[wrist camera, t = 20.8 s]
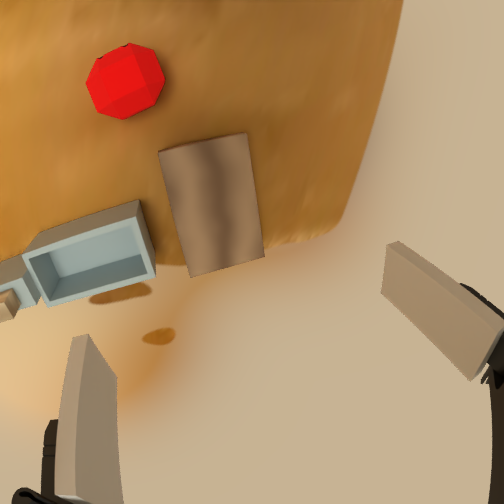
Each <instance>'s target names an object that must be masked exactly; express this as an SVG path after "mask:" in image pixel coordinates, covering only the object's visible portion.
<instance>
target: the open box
mask: <svg viewBox="0 0 504 504" xmlns="http://www.w3.org/2000/svg"><path fill="white" fill-rule="evenodd" d="M21 256H22V258H23V260H24V262H25V264H26V267H27V269H28V271H29V273H30V275H31V277H32V279H33V281H34V283H35V285H36V287H37V289H38V291H39V293H40V294H41V296H42V298H43V300H44V302H45V303H46V305H47V307H52V306H56V305H59V304H63V303H66V302H70V301H73V300H76V299H80V298H84V297H88V296H91V295H95V294H98V293H102V292H105V291H109V290H112V289H116V288H120V287H123V286H127V285H130V284H134V283H137V282H141V281H144V280H148V279H152V278H155V277H156V269H155V268H156V266H155V250H154V247H153V244H152V241H151V238H150V235H149V231H148V228H147V225H146V221H145V218H144V215H143V211H142V208H141V204H140V201H139V200H135V201H132V202H129V203H125V204H122V205H119V206H116V207H112V208H109V209H106V210H103V211H100V212H97V213H94V214H91V215H88V216H85V217H82V218H79V219H76V220H73V221H70V222H68V223H65V224H62V225H59V226H56V227H54V228H51V229H48V230H46V231H43V232H40V233H38V235H37V236H36V237H35V238H34V239H33V241H32V242H31V243H30V244H29V246H28V247H27V248H26V250H25V251H24V252H23V253H22V255H21Z"/></svg>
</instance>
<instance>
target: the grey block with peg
mask: <svg viewBox="0 0 504 504" xmlns="http://www.w3.org/2000/svg"><path fill="white" fill-rule="evenodd" d="M21 255H22V254H20V255H17V256H15V257H12V258H10V259H7V260H5V261H2V262H0V292H3V291H6V290H9V289H13V290H14V292H15V294H16V296H17V298H18V300H19V301H20V303H21V305H20V307H19V309H18V310H20V309H24V308H27V307H31V306H34V305H37V303H38V301H39V299H40V297H41V294H40V293H39V291H38V289H37V287H36V285H35V283H34V281H33V279H32V277H31V275H30V273H29V271H28V269H27V267H26V264H25V262H24V260H23V258H22V256H21Z"/></svg>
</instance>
